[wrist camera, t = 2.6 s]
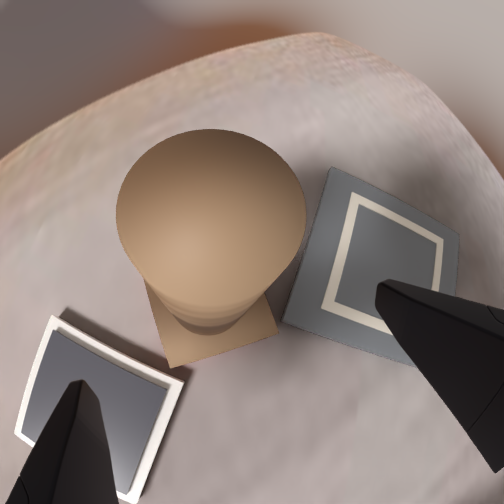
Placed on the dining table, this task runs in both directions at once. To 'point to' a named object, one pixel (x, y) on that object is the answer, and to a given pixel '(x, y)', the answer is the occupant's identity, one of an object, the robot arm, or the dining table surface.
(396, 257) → the form board
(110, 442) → the ink pad
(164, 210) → the stamp
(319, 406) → the dining table surface
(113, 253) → the dining table surface
